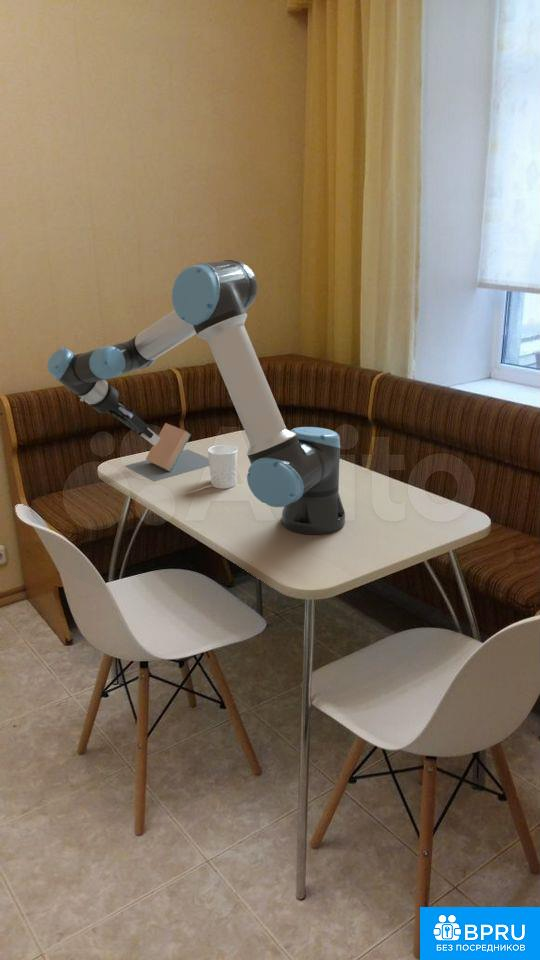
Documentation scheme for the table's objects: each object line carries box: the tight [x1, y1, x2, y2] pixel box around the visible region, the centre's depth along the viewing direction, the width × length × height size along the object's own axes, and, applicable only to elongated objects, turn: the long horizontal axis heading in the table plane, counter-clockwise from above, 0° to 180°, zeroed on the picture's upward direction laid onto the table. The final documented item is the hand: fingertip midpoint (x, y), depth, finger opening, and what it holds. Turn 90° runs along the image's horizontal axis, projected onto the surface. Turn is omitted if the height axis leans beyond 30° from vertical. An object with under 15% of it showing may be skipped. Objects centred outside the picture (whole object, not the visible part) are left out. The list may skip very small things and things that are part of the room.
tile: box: [145, 422, 192, 472], centre depth 215 cm, size 2×10×12 cm
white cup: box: [207, 444, 238, 490], centre depth 203 cm, size 8×8×10 cm
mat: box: [124, 449, 209, 482], centre depth 218 cm, size 22×16×1 cm
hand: (156, 441), depth 213 cm, fingers closed
